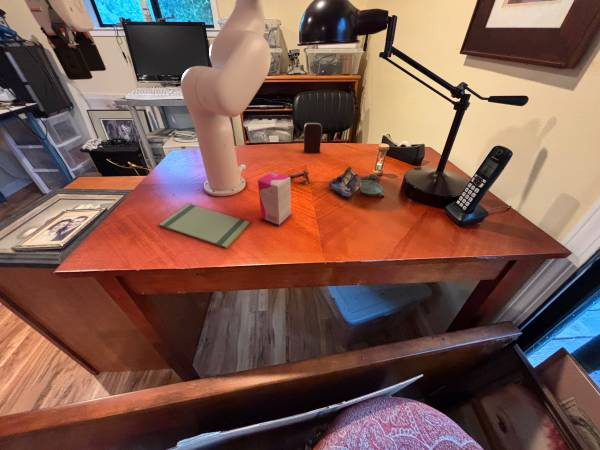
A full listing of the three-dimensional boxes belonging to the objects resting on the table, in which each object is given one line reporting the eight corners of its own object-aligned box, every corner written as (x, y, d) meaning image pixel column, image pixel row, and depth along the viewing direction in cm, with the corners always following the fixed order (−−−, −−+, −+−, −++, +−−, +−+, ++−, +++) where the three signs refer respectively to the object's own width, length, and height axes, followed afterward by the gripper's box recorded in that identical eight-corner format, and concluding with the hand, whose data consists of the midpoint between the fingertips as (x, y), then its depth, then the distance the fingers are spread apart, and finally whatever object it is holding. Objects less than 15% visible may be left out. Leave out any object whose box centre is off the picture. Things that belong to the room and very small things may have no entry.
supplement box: (291, 215, 64) (291, 176, 57) (279, 227, 60) (277, 187, 53) (273, 208, 66) (271, 170, 59) (260, 219, 62) (256, 180, 55)
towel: (188, 205, 67) (187, 203, 66) (250, 223, 61) (249, 221, 61) (159, 226, 60) (158, 223, 59) (226, 248, 54) (225, 246, 53)
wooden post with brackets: (311, 184, 75) (306, 171, 73) (290, 188, 80) (285, 176, 78) (313, 181, 77) (309, 168, 75) (293, 185, 81) (288, 173, 79)
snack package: (374, 196, 73) (356, 177, 81) (376, 178, 68) (357, 160, 77) (338, 207, 71) (323, 187, 79) (337, 190, 67) (322, 170, 75)
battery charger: (319, 149, 100) (321, 121, 93) (320, 153, 97) (322, 124, 90) (303, 149, 100) (303, 121, 93) (303, 153, 97) (304, 124, 90)
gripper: (20, -102, 26) (103, 81, 37) (72, -60, 38) (122, 67, 49) (-76, -114, 24) (42, 84, 35) (13, -66, 36) (79, 69, 47)
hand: (89, 74), depth 42 cm, fingers open, 9 cm apart
